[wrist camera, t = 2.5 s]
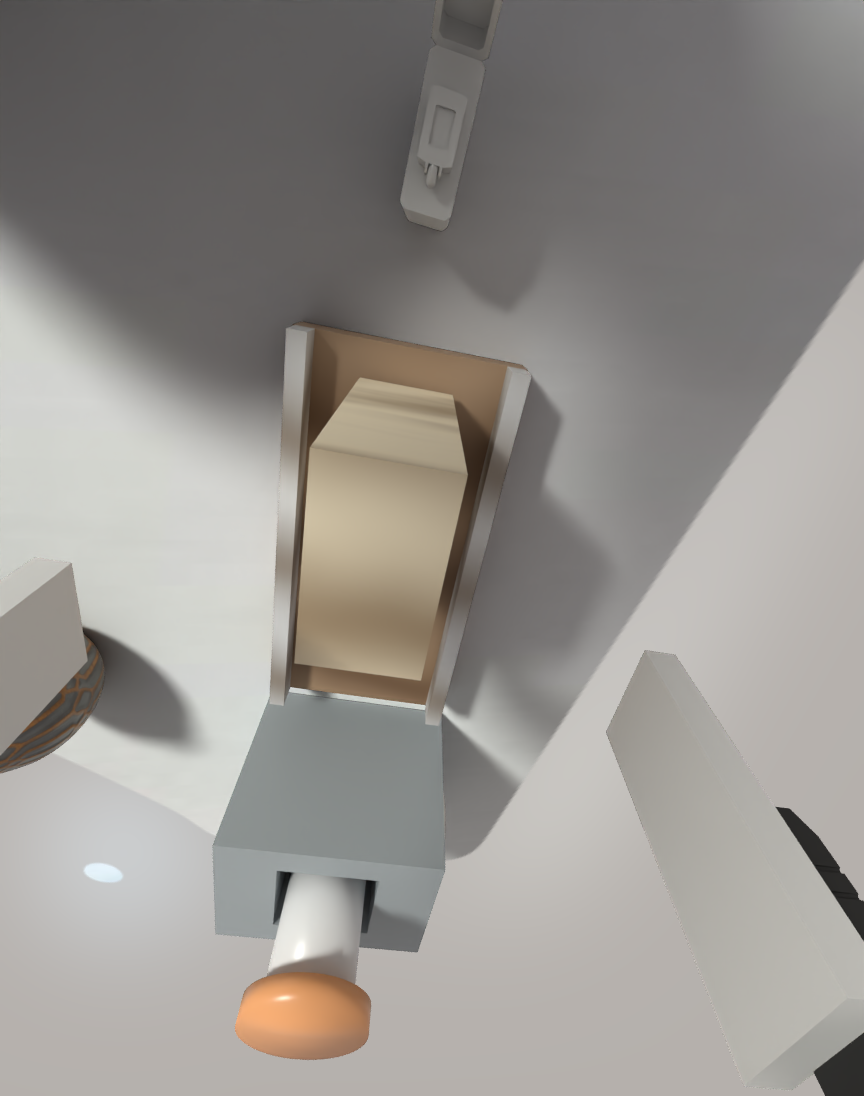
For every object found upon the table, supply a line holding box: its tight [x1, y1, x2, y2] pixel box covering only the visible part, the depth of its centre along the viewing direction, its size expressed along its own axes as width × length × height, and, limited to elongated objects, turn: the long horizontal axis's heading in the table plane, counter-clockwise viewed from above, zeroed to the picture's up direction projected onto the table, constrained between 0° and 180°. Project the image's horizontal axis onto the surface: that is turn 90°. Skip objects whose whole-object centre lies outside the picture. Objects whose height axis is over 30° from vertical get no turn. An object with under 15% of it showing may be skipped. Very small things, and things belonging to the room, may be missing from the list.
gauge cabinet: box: [213, 693, 446, 952], centre depth 30 cm, size 8×12×10 cm
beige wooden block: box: [294, 378, 468, 681], centre depth 19 cm, size 7×4×10 cm, turn 170°
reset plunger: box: [235, 872, 371, 1060], centre depth 25 cm, size 6×6×8 cm
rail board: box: [270, 322, 532, 726], centre depth 26 cm, size 20×10×3 cm, turn 170°
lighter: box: [400, 0, 503, 231], centre depth 15 cm, size 7×2×8 cm, turn 165°
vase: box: [0, 634, 105, 773], centre depth 27 cm, size 7×7×9 cm
